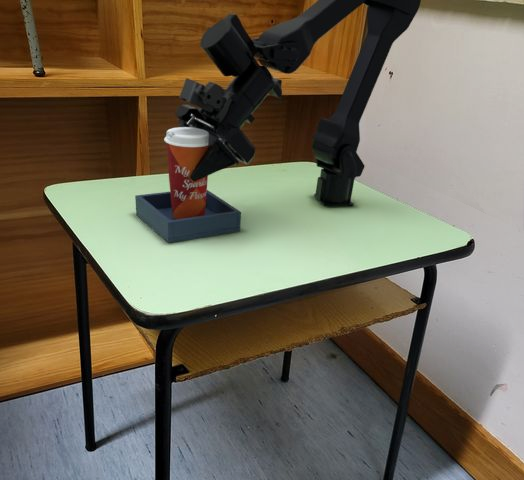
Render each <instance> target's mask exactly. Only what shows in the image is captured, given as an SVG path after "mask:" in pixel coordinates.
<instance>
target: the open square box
mask: <svg viewBox="0 0 524 480" xmlns="http://www.w3.org/2000/svg"><path fill="white" fill-rule="evenodd" d="M134 197H135V200H134V201H135V214H136V216H137V217H138V218H139V219H141V220H142V221H143V222H144V223H145V224H146V225H147V226H148V227H149V228H151V230H153V231H154V232H155V233H156V234H157V235H159V236H160V237H161V238H162V239H163V240H164V241H165V242H166V243H168V244H170V243H177V242H183V241H189V240H195V239H201V238H207V237H208V238H209V237H214V236H219V235H225V234H232V233H238V232H241V224H242V223H241V221H242V211H241V210H239V209H238V208H236V207H235V206H233V205H231V204H230V203H228V202H227V201H225V200H224V199H222V198H220V197H219V196H217V195H216V194H214V193H213V192H212V191H210V190H208V189H207V194H206V207H205V216H198V217H191V218H184V219H175V218H174V217H173V213H172V204H171V193H170V191H162V192H155V193H153V192H152V193H147V194H146V193H145V194H137V195H134Z"/></svg>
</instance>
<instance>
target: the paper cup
mask: <svg viewBox="0 0 524 480" xmlns="http://www.w3.org/2000/svg"><path fill="white" fill-rule="evenodd" d="M163 141H164V142H165V144H166V156H167V169H168V181H169V182H168V184H169V192H170V193H171V204H172V213H173V217H174V218H175V219H184V218H191V217H198V216H205V207H206V194H207V190H208V181H209V179H208V178H209V175H208V176H206V177H204V178H202V179H200V180H197V181H195V182H194V181H192V180H191V179H190V175H191V173H192V172H193V170H194V168H195V167H196V165H197V164H198V162H199V161H200V159H201V158H202V156H203V155H204V153H205V152H206V150H207V149H208V141H209V133H208V132H207V131H205V130H202V129H198V128H191V127H180V126H179V127H172V128H169V129H168V130H166V135H165V137H164V138H163Z"/></svg>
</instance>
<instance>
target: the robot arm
mask: <svg viewBox="0 0 524 480" xmlns="http://www.w3.org/2000/svg"><path fill="white" fill-rule="evenodd" d="M421 2H422V0H317V1H316V2H314V3H313V4H312V5H311V6H310V7H308V8H307V9H306V10H305V11H302V13H301V14H299V15H298V16H296V17H294V18H293V19H289V20H286V21H283V22H280V23H277V24H276V25H273V26H271V27H270V28H268V29H266V30H265V31H263V32H262V33H261V34H260V35H259V36H258V37H255V38H252V37H250V35H249V33H248V32H247V31H246V29H245V28H244V26H243V23H242V21H241V20H240V18H239V15H237V14H235V13H228V14H227V15H226V16H225V17H224V18H223V19H220V20H219V21H217V22H215V23H214V24H213V25H212V26H210V27H208V28H207V29H206V30H205V32H204V33H203V35H202V37H201V39H200V42H199V43H200V47H201V49H202V50H203V52H205V54H206V55H207V56H208V58H210V59H209V60H211V62H212V63H213V64H214V66H215V67H216V68H217V69H218V70H219V72H220V73H221V75H222V76H223V77H233V79H232V80H231V81H230V83H229V84H228V85H227V87H225V88H223V87H222V86H221V85H219V84H218V83H215V82H213V81H209V82H208V83H206V84H205V85H204V84H203V83H200V82H198V81H196V80H193V79H191V78H187V77H186V78H185V80H184V83H183V86H182V89H181V91H180V93H179V96H178V98H179V99H180V100H182V101H184V102H187V103H189V104H181V105H180V106H179V107H178V108H176V109H177V110H176V111H175V112H174V115H175V116H176V117H177V123H178V125H179V127H191V128H198V129H202V130H205V131H207V132H208V133H209V141H208V149H207V150H206V152H205V153H204V155H203V156H202V158H201V159H200V161H199V162H198V164H197V165H196V167H195V168H194V170H193V172H192V173H191V175H190V179H191V180H192V181H194V182H195V181H197V180H200V179H202V178H204V177H206V176H208V177H209V176H210V175H212V174H214V173H215V174H216V173H217V172H220V171H222V170H225V169H227V168H229V167H232V166H234V165H236V166H238V165H239V164H240V162H241V163H243V164H245V165H247V166H248V165H249V164H250V163H251V161H252V160H253V159H254V158H255V157H256V146H255V145H254V144H253V143H252V141H251V140H250V138H249V137H248V136H247V135H246V134H245V132H244V131H242V127H243V126H244V125H245V124H246V123H248V124H253V122H254V121H255V120H256V118H255V117H254V116H253V114H254V113H255V111H256V110H257V109H258V108H259V106H260V105H261V104H262V103H263V101H264V100H265V99H266V98H267V97H268V95H269V96H272V97H275V98H277V99H281V98H283V89H282V83H283V81H282V79H279V78H276V77H274V76H273V74H272V73H271V72H270V70H272V71H275V72H279V73H282V74H286V75H290V74H293V73H294V72H296V71H297V70H299V68H300V67H301V66H302V65H303V63H305V62H306V60H307V59H308V58H309V57H310V56H311V53H312V50H313V48H314V45H315V44H317V42H318V41H319V40H320V39H321V38H322V37H324V36H325V35H327V33H329V32H330V31H331V30H332V29H334V28H335V27H336V26H337V25H338V24H339V23H341V22H342V21H343V20H345V19H346V18H347V17H348V16H350V14H352V13H353V12H354V11H356V10H357V9H358V8H359V7H360V6H362V5H365V6H366V7H367V11H366V25H367V32H366V35H365V37H364V41H363V43H362V45H361V47H360V50H359V53H358V55H357V57H356V60H355V62H354V65H353V68H352V70H351V73H350V75H349V77H348V80H347V82H346V85H345V88H344V90H343V91H342V95H341V97H340V100H339V102H338V105H337V106H336V110H335V112H334V113H333V114H332V115H331V116H330V117H329V118H328V119H327V118H324V117H322V118H320V120H319V121H318V124H317V128H316V131H315V132H314V135H313V136H312V137H311V140H313V142H312V146H311V150H312V153H313V156H314V159H315V164H316V167H318V168H321V170H320V175H319V176H318V177H317V180H316V188H315V193H314V194H313V197H314V198H315V199H316V200H317V201H318V202H319V203H320V204H322V206H323V207H328V208H329V207H331V208H333V207H354V205H355V203H354V201H352V195H353V190H354V183H355V179H356V178H358V177H359V178H360V177H361V176H362V174H363V173H364V172H363V171H364V170H365V167H366V165H365V164H364V162H363V161H362V158H360V156H359V154H358V153H357V152H358V149H359V144H360V142H361V133H360V131H361V130H360V123H361V119H362V117H363V114H364V112H365V110H366V108H367V105H368V102H369V101H370V98H371V96H372V93H373V91H374V89H375V86H376V84H377V81H378V80H379V77H380V74H381V72H382V70H383V67H384V65H385V62H386V60H387V58H388V56H389V53H390V51H391V48H392V46H393V44H394V43H395V41H396V40H397V39H399V38H400V37H401V36H402V35H403V34H404V33H405V32H406V31H407V30H408V29H409V27H410V25H411V24H412V22H413V20H414V18H415V16H416V15H417V13H418V11H419V9H420V7H421ZM256 59H257V60H256ZM194 106H195V107H194ZM196 107H197V108H196Z"/></svg>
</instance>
